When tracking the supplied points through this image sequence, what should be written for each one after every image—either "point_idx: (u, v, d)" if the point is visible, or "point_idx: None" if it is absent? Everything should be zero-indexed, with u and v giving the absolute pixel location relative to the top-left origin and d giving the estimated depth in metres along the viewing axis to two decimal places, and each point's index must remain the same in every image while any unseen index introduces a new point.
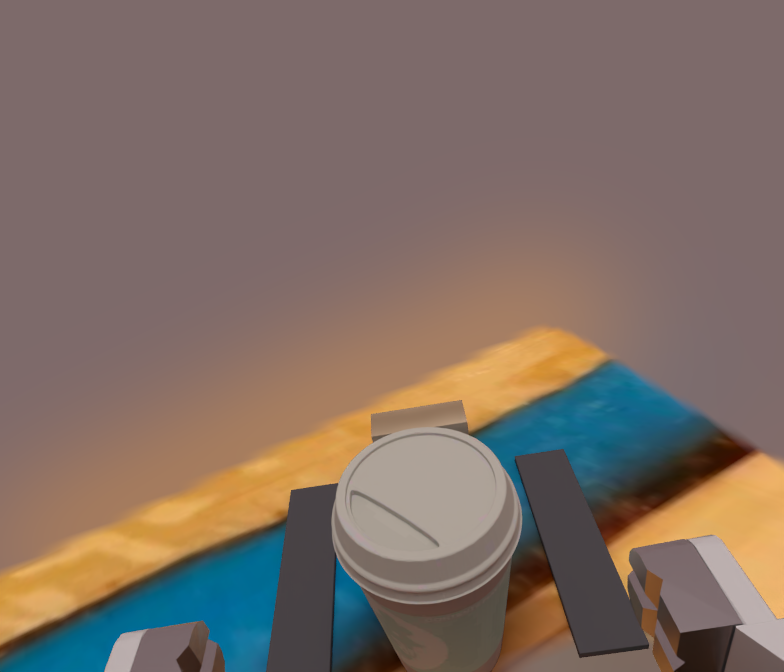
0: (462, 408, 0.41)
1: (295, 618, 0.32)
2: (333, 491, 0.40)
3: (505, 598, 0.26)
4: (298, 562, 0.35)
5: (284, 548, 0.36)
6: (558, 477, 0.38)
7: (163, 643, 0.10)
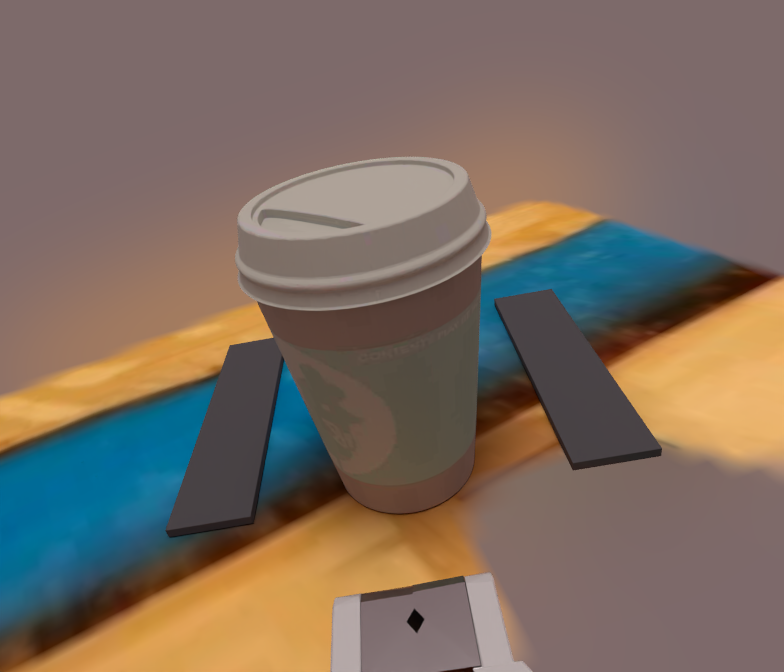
0: None
1: (217, 455, 0.26)
2: None
3: (473, 368, 0.20)
4: (229, 405, 0.29)
5: (214, 394, 0.30)
6: (545, 312, 0.32)
7: (382, 606, 0.10)
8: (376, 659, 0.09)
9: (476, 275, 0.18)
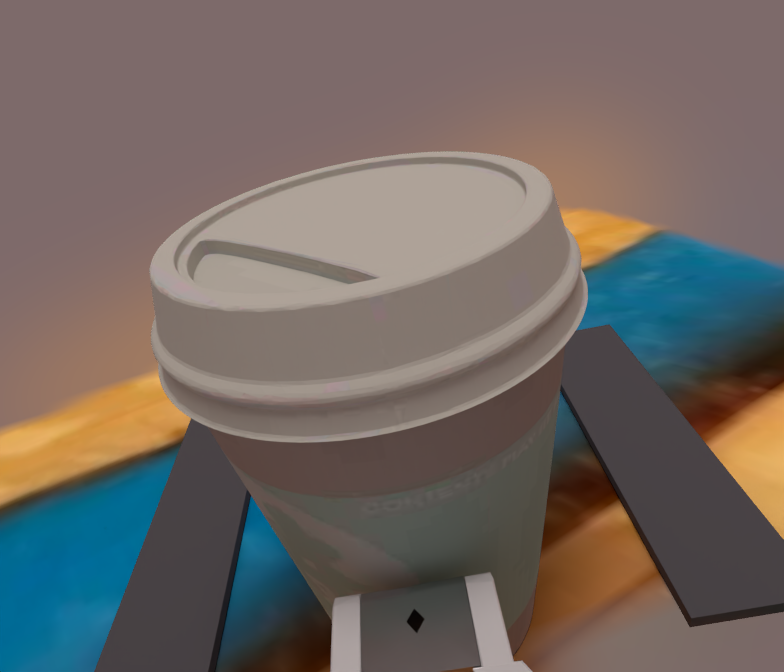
0: None
1: (165, 579, 0.18)
2: None
3: (546, 487, 0.12)
4: (189, 493, 0.21)
5: (171, 475, 0.23)
6: (607, 357, 0.24)
7: (382, 607, 0.10)
8: (376, 659, 0.09)
9: (563, 350, 0.10)
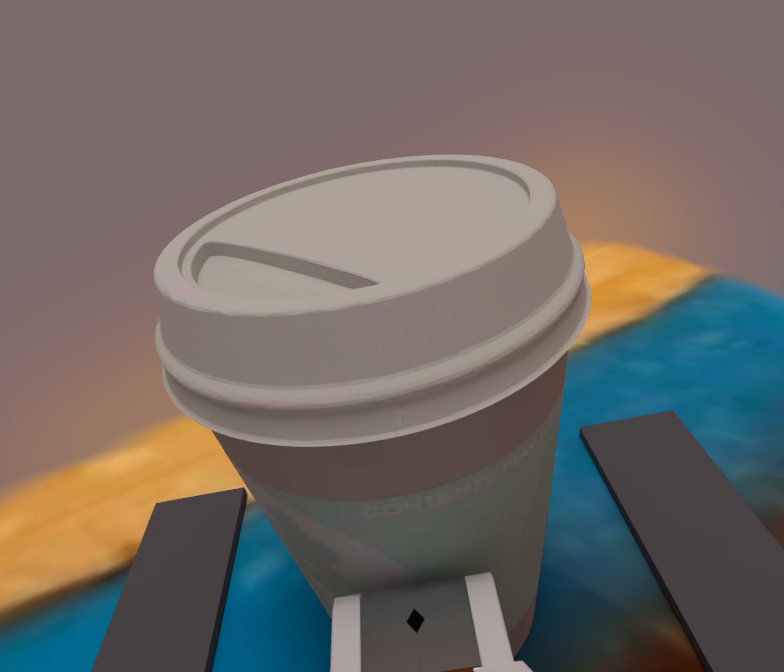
0: None
1: None
2: (234, 503, 0.21)
3: (548, 492, 0.12)
4: (130, 662, 0.16)
5: (110, 627, 0.17)
6: (676, 463, 0.19)
7: (382, 607, 0.10)
8: (376, 659, 0.09)
9: (565, 356, 0.10)
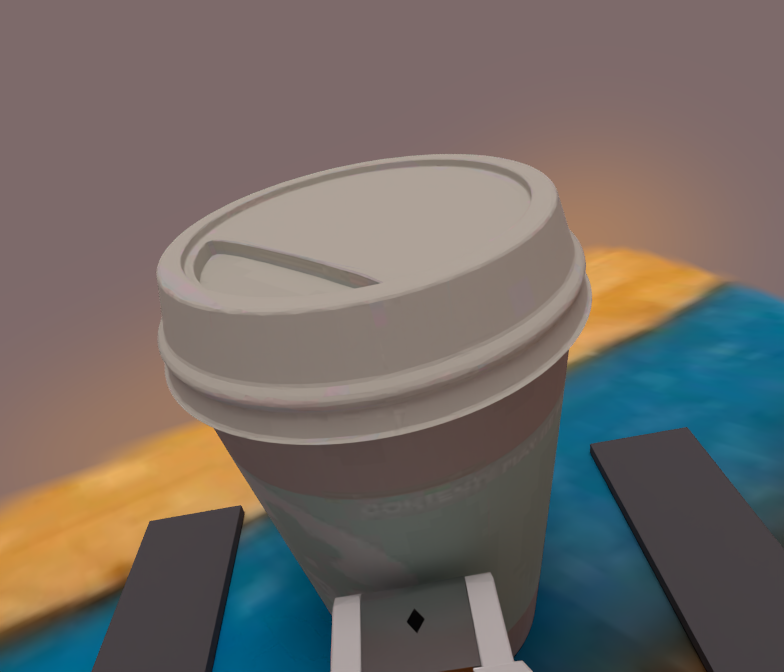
0: None
1: None
2: (230, 522, 0.20)
3: (548, 492, 0.12)
4: None
5: (100, 656, 0.16)
6: (693, 484, 0.18)
7: (382, 606, 0.10)
8: (376, 659, 0.09)
9: (566, 356, 0.10)
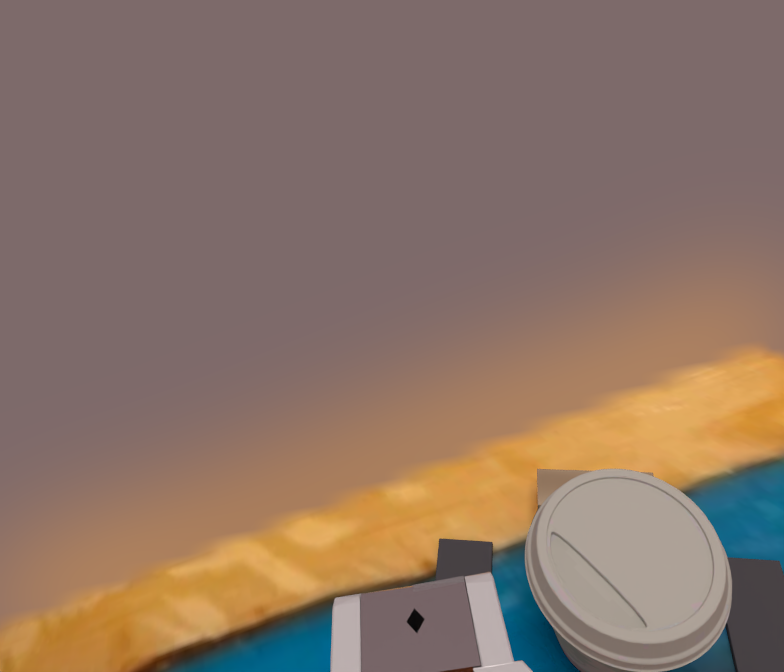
0: None
1: None
2: (487, 552, 0.36)
3: None
4: None
5: None
6: (770, 604, 0.31)
7: (382, 607, 0.10)
8: (376, 659, 0.09)
9: None
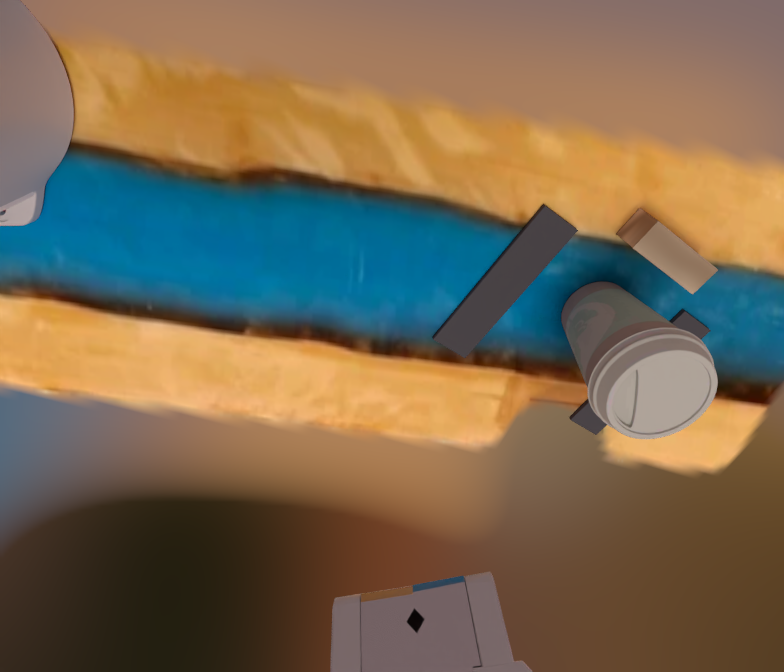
0: (707, 279, 0.43)
1: (474, 312, 0.46)
2: (568, 236, 0.43)
3: None
4: (502, 276, 0.45)
5: (502, 258, 0.44)
6: None
7: (382, 606, 0.10)
8: (376, 659, 0.09)
9: None
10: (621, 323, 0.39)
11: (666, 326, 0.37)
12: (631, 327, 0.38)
